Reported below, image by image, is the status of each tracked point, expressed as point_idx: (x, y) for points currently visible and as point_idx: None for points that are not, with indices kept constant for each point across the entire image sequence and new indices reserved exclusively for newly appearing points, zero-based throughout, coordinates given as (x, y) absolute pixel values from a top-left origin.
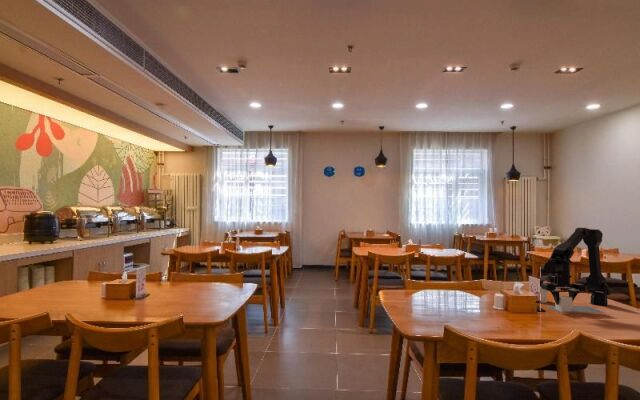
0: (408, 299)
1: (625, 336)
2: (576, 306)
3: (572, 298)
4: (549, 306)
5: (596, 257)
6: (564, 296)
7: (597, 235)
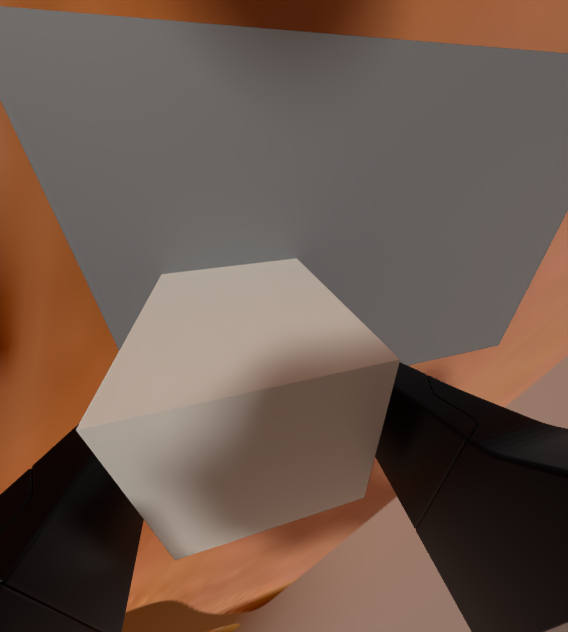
0: None
1: (281, 580)
2: (510, 97)
3: (377, 455)
4: (98, 103)
5: None
6: (292, 465)
7: None
